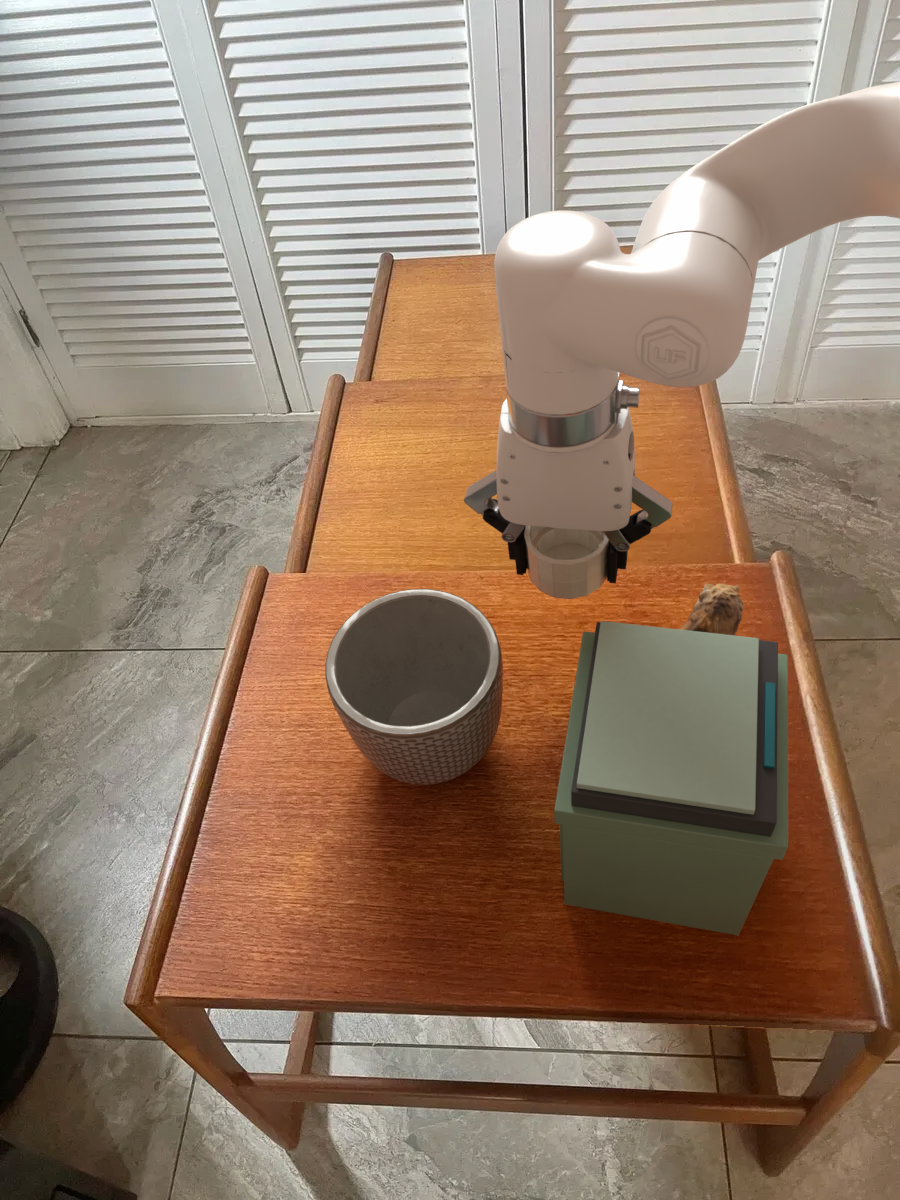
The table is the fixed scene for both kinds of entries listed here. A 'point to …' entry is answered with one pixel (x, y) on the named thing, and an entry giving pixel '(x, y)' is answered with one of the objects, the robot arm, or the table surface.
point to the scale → (680, 728)
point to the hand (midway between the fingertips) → (568, 565)
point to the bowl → (566, 560)
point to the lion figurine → (716, 610)
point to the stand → (664, 845)
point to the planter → (418, 684)
